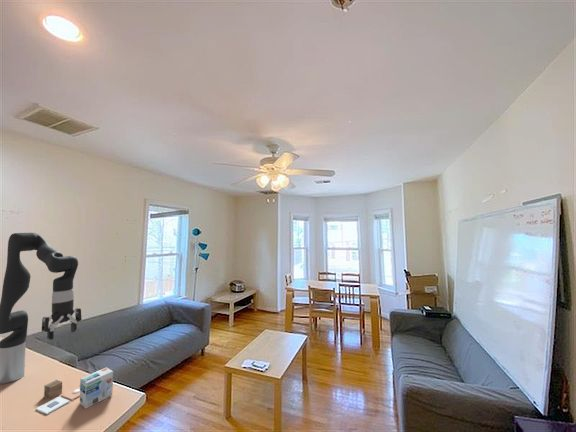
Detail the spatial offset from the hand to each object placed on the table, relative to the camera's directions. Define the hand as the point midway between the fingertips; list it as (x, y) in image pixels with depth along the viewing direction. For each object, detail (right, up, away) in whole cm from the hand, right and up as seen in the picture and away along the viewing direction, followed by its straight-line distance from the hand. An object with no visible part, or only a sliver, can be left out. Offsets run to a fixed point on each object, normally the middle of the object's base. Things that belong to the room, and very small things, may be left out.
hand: (62, 335), depth 116 cm
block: (-5, -27, 0) cm, 28 cm away
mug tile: (+5, -27, +1) cm, 28 cm away
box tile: (+2, -27, -7) cm, 28 cm away
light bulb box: (+18, -27, -3) cm, 33 cm away
